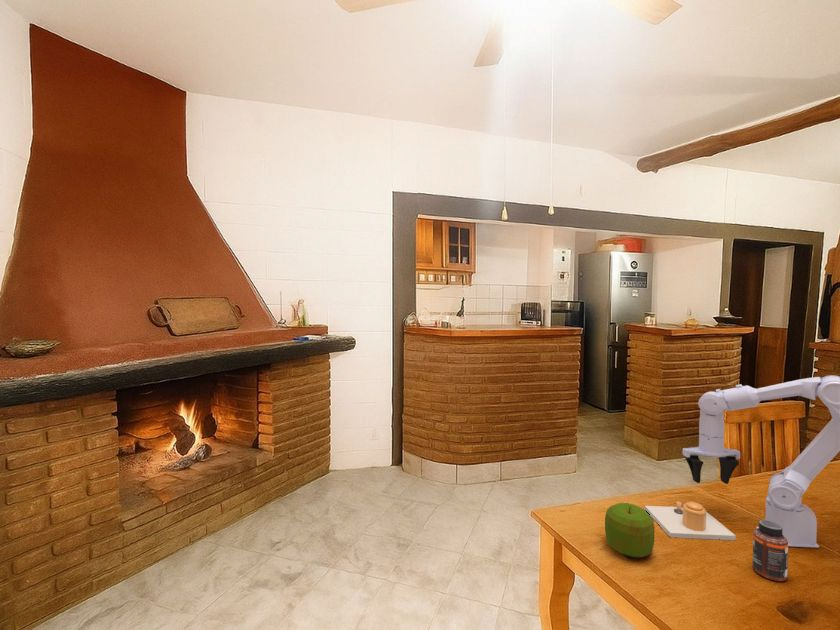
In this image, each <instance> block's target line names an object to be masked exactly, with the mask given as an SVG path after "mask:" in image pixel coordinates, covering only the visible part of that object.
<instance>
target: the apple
mask: <svg viewBox="0 0 840 630" xmlns="http://www.w3.org/2000/svg"><path fill="white" fill-rule="evenodd" d="M654 522H655V520H654V519H653V518H652V517H651V516H650V515H649V514H648V513H647V512H646V511H645V509H644V508H642V507H640V506H638V505H636V504H633V503H629V502H619V503H615V504H613V505H611V506H609V507H608V508H607V509H606V513H605V516H604V530H605V532H604V533H605V538H606V539H605V540H606V542H607V544H608V545H609V546H610V547H611V548H612V549H614V550H615V551H617V552H619V553H621V554H622V555H624V556H627V557H629V558H634V559H638V558H643V557H645V556H649V555H650V554H651V553H653V549H654V544H655V523H654Z"/></svg>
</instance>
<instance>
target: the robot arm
mask: <svg viewBox="0 0 840 630" xmlns="http://www.w3.org/2000/svg"><path fill="white" fill-rule="evenodd" d="M797 396H798V397H803V398H806V399H809V400H812V401H816V397H818V398H819V400H820V401H821V402H822V403H823V404H824V405H825V406H826V407H827V408H828V411H829V413H830V415H831V420H830V421H829V422H828V423H827V424H825V426H824V427H823V428H822V429H821V430H820V431H819V433H818V434H817V435H816V436H815V437H814V439H812V440H811V441H810V442H809V444H808V445H807V446H806V447H805V448H804V449H803V450H802V452H801V453H800V454H799V455H798V456H797V457H796V458H795V460H793V462H792V463H790V465H788V466H786V467H785V468H784V469H783V470H782V471H780V472H778V473H775V474H772V476H770V478H769V485H768V486H769V487H768V489H767V496H766V497H765V519H764V520H768V521H772V522H775V523H777V524H779V525H781V526H782V532H783V533H782V534H783V535H784V536H785V537H786V539H787V540H788V547H795V548H820V545H819V544H817V536H818V535H817V533H818V532H817V531H818V530H817V529H818V528H817V527H818V519H817V517H816V514H815V513H814V511H813V509H811V507H809V506H808V505H806V504H802V497H803V495H805V492H806V491H807V490H808V488H809V486H810V485H811V482H813V480H814V479H815V478H816V477H817V476H818V475H819V473H821V472H822V470H823V469H825V467H826V466H827V465H828V464H829V463H830V462H831V461H832V460H833V459H834V458H835V457H836V456H837V455H838V453H840V376H838V375H831V374H830V375H826V376H824V377H821V376H814V377H806V378H801V379H795V380H792V381H791V380H790V381H786V382H782V383H777V384H772V385H768V386H764V387H758V388H755V387H752V386H750V385H742V384H741V383H740V384H736V385H735V387H732V388H727V389H726V388H725V389H722V390H721V388H718V389H717V388H716V389H715V391H706V392H705V393H704V394H702V395H701V397H700V398H699V399H698V402H697V403H698V407H699V409H700V411H699V420H698V423H699V425H698V428H699V429H698V430H699V431H698V434H699V435H698V446H694V447H693V446H692V447H684V448H682V456H683V458H684V459H685V461H686V462H687V465H688V466H689V469H690V472H691V477H692V480H693V481H694V482H695V483H697V484H700V483H701V473H702V467H703V464H704V461H702V460H701V459H700V458H701V457H702V458H718V460H719V467H720V468H719V469H720V472H719V473H720V475H719V476H720V477H719V478H720V481H721V482H722V483H724V484H726V485H728V484H729V482H730V480H731V477H732V474H733V473H734V471H735V470H736V468H737V467H739V465H740V461H739V460H740V459H741V451H739V450H737V449H736V448H735V449H733V448H725V447H724V446H725V419H724V414H725V413H724V411H727V412H731V411H737V410H738V411H739V410H744V409H749V408H756V407H758V405H759V404H760V402H761V401H768V400H769V401H770V400H775V399H784V398H791V397H797ZM738 459H739V460H738ZM757 528H759V526H756V528H755V529H757Z"/></svg>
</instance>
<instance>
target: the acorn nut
mask: <svg viewBox="0 0 840 630" xmlns="http://www.w3.org/2000/svg"><path fill="white" fill-rule="evenodd" d="M682 505H683V520H682V524H683V525H684V526H685V527H686V528H689V529H692V530H694V531H704V530H705V529H706V512H707V510H706V509H705V507H703V504H700V503H698V502H696V501H692V500H691V501H687V502H685V503H684V504H682Z"/></svg>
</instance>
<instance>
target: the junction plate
mask: <svg viewBox="0 0 840 630" xmlns="http://www.w3.org/2000/svg"><path fill="white" fill-rule="evenodd" d="M682 505H683V503H682V501H680V500H677V501H676V506H661V505H659V506H658V505H644V510H646V511H647V512H648V513H649V514H650V517H651V518H652V519H653V521H654V522H655V523H656V522H657V523H658V524H659V525H660V526H659V525H658V524H657V523H656V524H657V525H658V526H659V527H660V528H661V529H662V530H663V531H664V532H665V533H666V534H667V535H668V537H669V536H670V537H671V538H674V537H677V538H676V539H692V538H693V539H696V540H698V539H699V540H717V541H718V540H719V539H720V540H719V541H736V540H737V536H736V534H734V533H733V532H732V531H730V530H729V528H727V527H726V526H724V525H723V524H722V523H721V522H719V520H718V519H717V518H715V517H714V516H713V515H711V514H710V513H708V512H707V511H706V529H705V530H704V531H694V530H692V529H689V528H686V527H685V526H684V525H683V524H682V520H683V507H682ZM670 537H669V538H670ZM674 539H675V538H674Z"/></svg>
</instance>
